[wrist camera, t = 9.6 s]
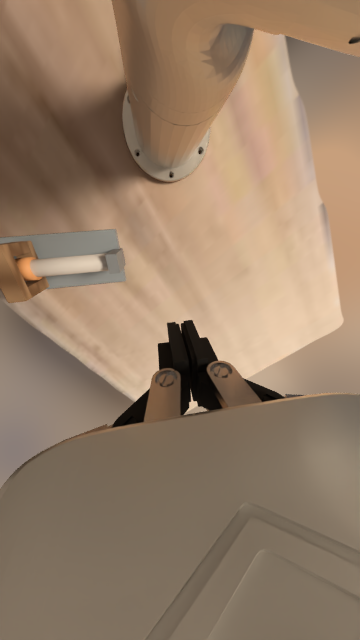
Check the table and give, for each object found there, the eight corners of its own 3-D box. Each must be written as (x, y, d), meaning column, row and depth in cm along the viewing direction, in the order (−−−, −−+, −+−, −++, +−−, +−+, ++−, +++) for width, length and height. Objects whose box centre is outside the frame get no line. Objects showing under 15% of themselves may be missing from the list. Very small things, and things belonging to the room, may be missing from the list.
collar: (14, 241, 30) (-22, 246, 23) (31, 240, 30) (-2, 245, 24) (35, 287, 33) (8, 303, 27) (49, 286, 33) (26, 301, 27)
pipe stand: (-12, 238, 31) (-59, 243, 24) (119, 228, 33) (111, 230, 26) (14, 290, 35) (-19, 307, 28) (129, 279, 37) (124, 292, 30)
